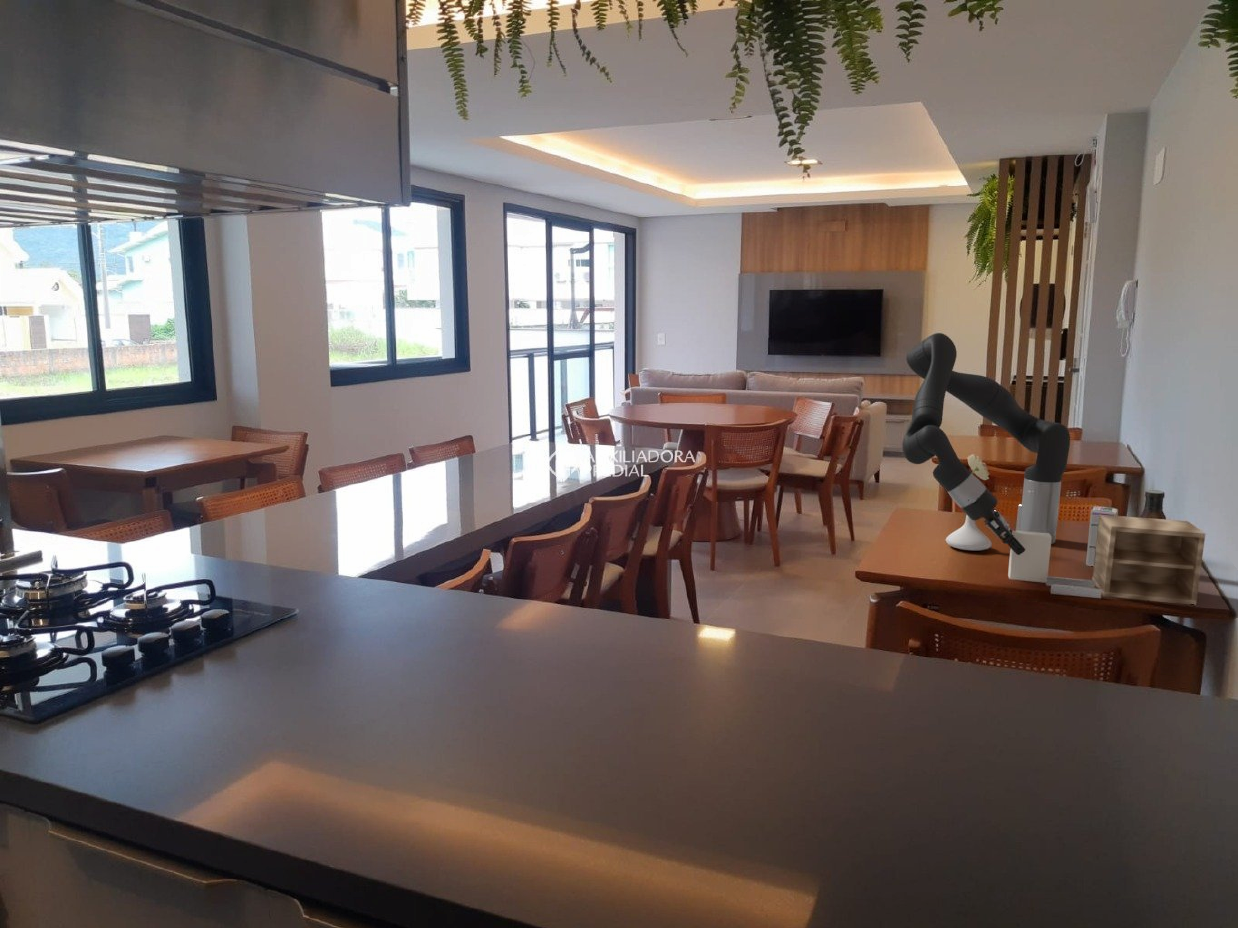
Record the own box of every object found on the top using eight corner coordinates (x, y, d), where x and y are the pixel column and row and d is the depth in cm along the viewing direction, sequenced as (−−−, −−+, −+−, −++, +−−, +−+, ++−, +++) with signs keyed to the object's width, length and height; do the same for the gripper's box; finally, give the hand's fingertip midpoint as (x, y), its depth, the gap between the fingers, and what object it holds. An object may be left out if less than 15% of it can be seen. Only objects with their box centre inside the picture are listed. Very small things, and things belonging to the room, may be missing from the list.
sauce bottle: (1155, 567, 220) (1164, 489, 216) (1167, 574, 214) (1178, 494, 210) (1127, 565, 220) (1136, 488, 217) (1139, 573, 214) (1149, 493, 211)
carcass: (1103, 596, 196) (1111, 526, 193) (1091, 580, 207) (1099, 514, 205) (1195, 605, 191) (1205, 533, 188) (1178, 588, 202) (1187, 521, 199)
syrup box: (1111, 569, 217) (1118, 512, 214) (1084, 565, 220) (1090, 509, 217) (1113, 564, 222) (1119, 508, 219) (1086, 560, 225) (1092, 505, 222)
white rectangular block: (1009, 579, 208) (1014, 533, 206) (1008, 575, 211) (1012, 530, 209) (1046, 582, 205) (1051, 537, 204) (1044, 578, 209) (1049, 533, 207)
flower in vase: (995, 555, 228) (1003, 460, 224) (948, 552, 230) (956, 458, 226) (984, 542, 241) (993, 452, 236) (941, 540, 243) (948, 450, 239)
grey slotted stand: (1051, 593, 197) (1051, 585, 197) (1045, 584, 204) (1046, 576, 204) (1100, 598, 194) (1101, 589, 194) (1093, 589, 201) (1094, 580, 201)
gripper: (957, 499, 216) (1002, 549, 215) (961, 513, 203) (1009, 565, 202) (982, 480, 214) (1028, 530, 213) (988, 492, 201) (1037, 546, 200)
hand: (1019, 547), depth 207 cm, fingers open, 8 cm apart
